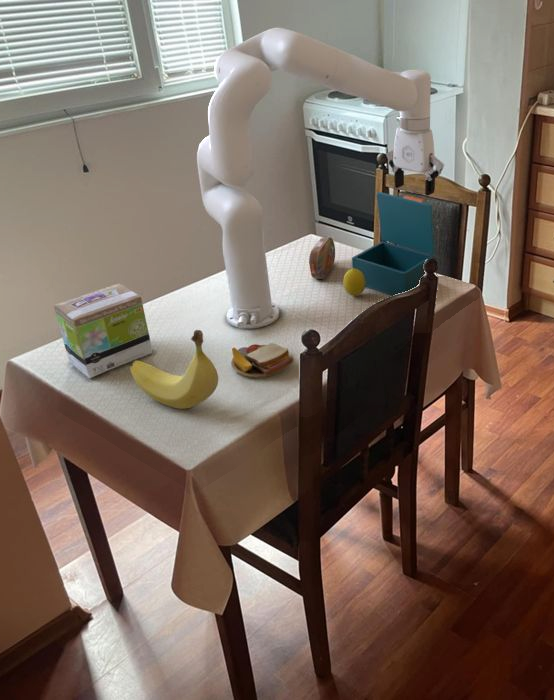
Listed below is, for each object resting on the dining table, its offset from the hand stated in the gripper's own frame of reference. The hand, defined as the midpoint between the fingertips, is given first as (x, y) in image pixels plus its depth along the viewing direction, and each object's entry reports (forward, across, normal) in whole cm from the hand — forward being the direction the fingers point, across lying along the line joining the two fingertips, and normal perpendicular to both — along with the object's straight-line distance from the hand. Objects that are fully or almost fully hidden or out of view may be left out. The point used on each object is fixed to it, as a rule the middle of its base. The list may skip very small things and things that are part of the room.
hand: (414, 190), depth 188 cm
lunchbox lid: (+8, 0, -4) cm, 9 cm away
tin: (+23, -19, -16) cm, 34 cm away
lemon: (+23, -3, -22) cm, 32 cm away
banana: (+24, -2, -79) cm, 82 cm away
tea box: (+24, -28, -76) cm, 84 cm away
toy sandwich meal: (+24, +1, -58) cm, 63 cm away
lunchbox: (+23, 0, -10) cm, 25 cm away
